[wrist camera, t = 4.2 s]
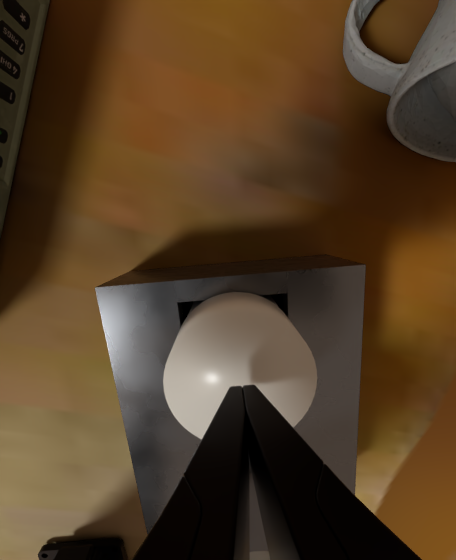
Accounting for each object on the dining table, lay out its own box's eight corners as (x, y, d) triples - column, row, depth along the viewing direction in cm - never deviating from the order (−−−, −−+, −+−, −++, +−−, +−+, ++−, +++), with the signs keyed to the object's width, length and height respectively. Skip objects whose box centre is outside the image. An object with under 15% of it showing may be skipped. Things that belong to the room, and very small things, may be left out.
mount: (324, 475, 18) (352, 543, 14) (168, 488, 18) (153, 561, 14) (326, 254, 14) (365, 264, 10) (130, 271, 14) (95, 287, 10)
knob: (279, 355, 15) (317, 440, 9) (193, 362, 15) (174, 453, 9) (275, 271, 14) (317, 304, 8) (183, 279, 14) (152, 319, 8)
